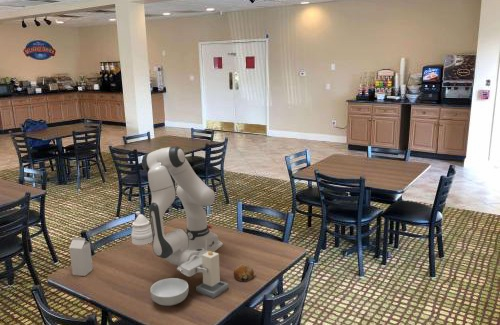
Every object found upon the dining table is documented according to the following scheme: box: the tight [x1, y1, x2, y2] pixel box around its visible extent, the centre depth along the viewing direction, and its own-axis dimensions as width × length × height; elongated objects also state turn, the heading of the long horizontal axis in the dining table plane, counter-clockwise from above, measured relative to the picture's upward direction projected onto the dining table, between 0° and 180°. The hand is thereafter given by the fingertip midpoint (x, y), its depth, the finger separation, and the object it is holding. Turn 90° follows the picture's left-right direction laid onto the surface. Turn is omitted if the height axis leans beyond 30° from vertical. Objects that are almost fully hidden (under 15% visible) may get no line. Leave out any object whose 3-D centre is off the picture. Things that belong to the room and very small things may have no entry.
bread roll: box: [233, 263, 255, 282], centre depth 209 cm, size 10×10×8 cm
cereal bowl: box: [149, 277, 189, 307], centre depth 189 cm, size 17×17×7 cm
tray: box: [195, 280, 229, 299], centre depth 197 cm, size 10×10×2 cm
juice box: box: [202, 251, 221, 286], centre depth 195 cm, size 6×6×15 cm
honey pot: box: [130, 210, 153, 246], centre depth 254 cm, size 13×13×18 cm
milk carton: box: [68, 237, 94, 277], centre depth 216 cm, size 7×7×19 cm
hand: (212, 268), depth 194 cm, fingers closed on juice box, 5 cm apart
